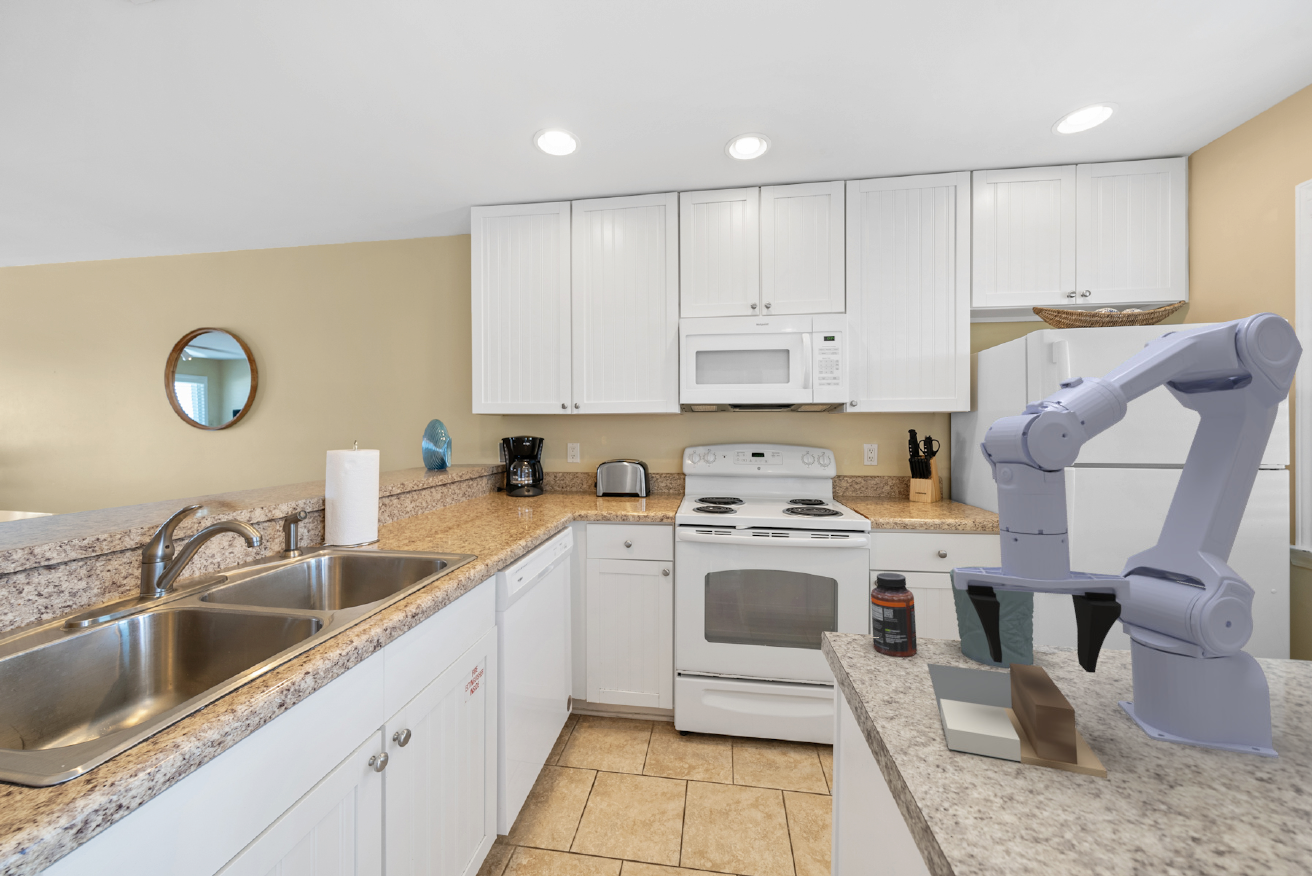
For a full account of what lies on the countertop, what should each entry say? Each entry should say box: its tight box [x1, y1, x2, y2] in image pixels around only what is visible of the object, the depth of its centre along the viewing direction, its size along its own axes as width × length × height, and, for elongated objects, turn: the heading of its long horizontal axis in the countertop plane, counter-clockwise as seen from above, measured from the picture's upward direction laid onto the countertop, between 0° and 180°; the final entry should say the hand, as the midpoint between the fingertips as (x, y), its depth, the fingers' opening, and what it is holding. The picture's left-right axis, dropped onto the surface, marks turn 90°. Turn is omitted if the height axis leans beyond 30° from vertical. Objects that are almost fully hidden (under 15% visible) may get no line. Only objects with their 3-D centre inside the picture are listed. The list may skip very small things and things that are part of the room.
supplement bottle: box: [870, 572, 918, 658], centre depth 77 cm, size 6×6×11 cm
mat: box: [926, 663, 1012, 746], centre depth 59 cm, size 12×21×1 cm, turn 157°
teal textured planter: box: [949, 566, 1035, 669], centre depth 73 cm, size 10×10×12 cm
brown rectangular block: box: [1009, 663, 1077, 764], centre depth 52 cm, size 3×10×5 cm, turn 157°
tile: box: [940, 699, 1021, 762], centre depth 53 cm, size 6×2×6 cm
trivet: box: [1002, 707, 1108, 779], centre depth 52 cm, size 6×10×1 cm, turn 157°
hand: (1040, 663), depth 52 cm, fingers open, 7 cm apart
